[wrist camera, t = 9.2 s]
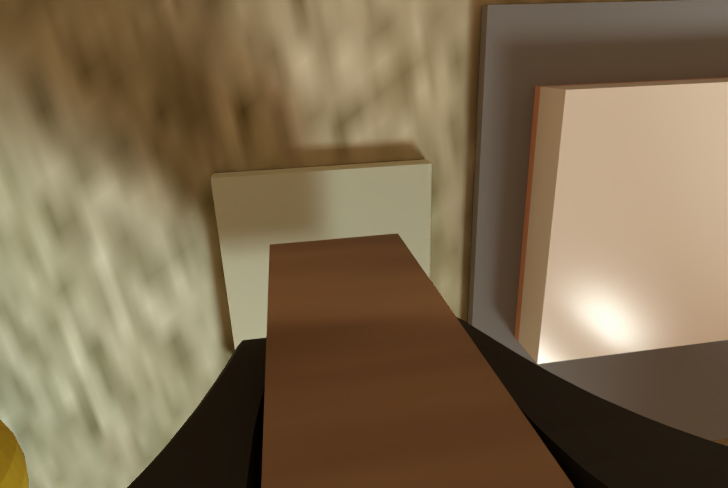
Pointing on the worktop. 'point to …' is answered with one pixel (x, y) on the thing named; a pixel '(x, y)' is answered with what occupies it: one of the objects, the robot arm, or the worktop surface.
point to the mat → (511, 162)
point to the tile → (625, 219)
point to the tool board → (311, 220)
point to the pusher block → (382, 380)
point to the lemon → (11, 461)
